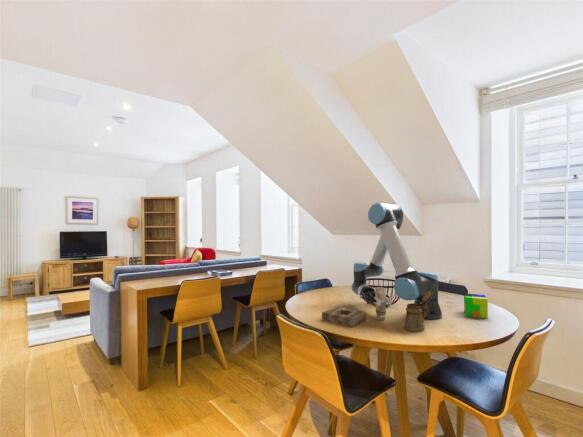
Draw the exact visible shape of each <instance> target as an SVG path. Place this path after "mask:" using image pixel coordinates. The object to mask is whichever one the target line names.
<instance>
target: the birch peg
mask: <svg viewBox="0 0 583 437" xmlns="http://www.w3.org/2000/svg"><path fill="white" fill-rule="evenodd" d="M375 292H376V298H378V299H380V300H381V306H379V305H378V304H376V303H375V314H376V320H378V321H380V322H381V321H385V320H386V317H385V316H386V315H387V308H386V304H387V303H386V295H387V293H386V292H387V291H386V287H379V286H378V287H375Z"/></svg>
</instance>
